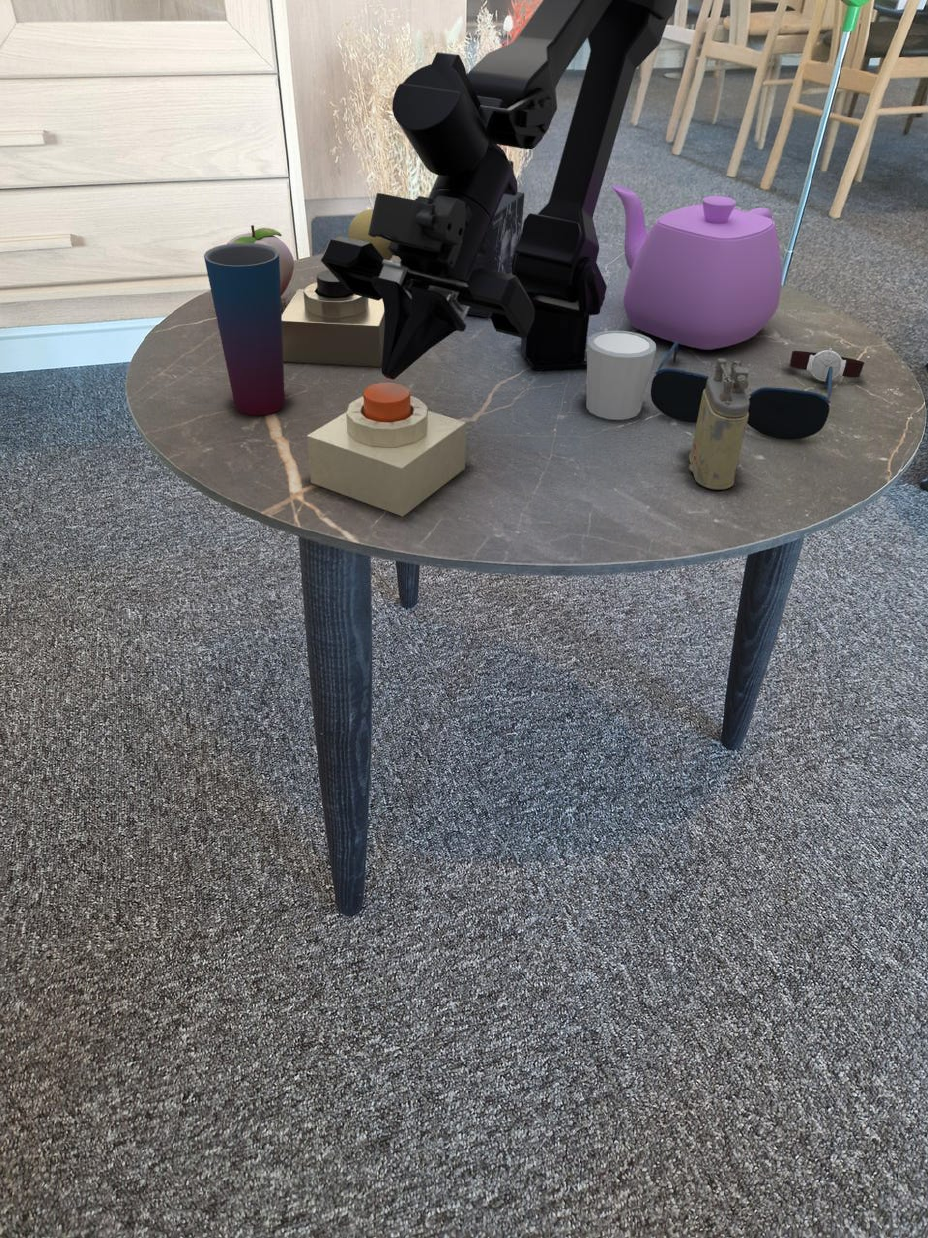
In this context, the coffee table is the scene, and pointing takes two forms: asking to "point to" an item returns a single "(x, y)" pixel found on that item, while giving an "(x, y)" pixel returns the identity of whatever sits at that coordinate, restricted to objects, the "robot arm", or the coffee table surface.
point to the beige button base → (333, 329)
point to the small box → (501, 240)
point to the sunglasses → (767, 410)
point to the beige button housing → (387, 456)
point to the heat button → (330, 286)
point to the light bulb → (361, 230)
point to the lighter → (720, 427)
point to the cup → (249, 322)
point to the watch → (826, 364)
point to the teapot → (701, 272)
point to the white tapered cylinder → (618, 373)
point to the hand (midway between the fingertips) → (387, 376)
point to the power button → (386, 402)
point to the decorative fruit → (268, 239)
